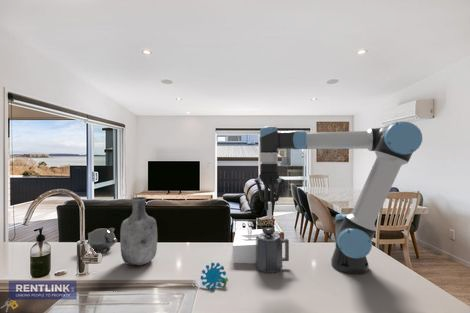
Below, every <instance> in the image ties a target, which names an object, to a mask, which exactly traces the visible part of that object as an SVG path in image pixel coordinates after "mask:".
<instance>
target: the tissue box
mask: <svg viewBox="0 0 470 313" xmlns="http://www.w3.org/2000/svg"><path fill="white" fill-rule="evenodd" d="M234 233H235V234H234V239H233V243H232V252H233V253H232V254H233V255H232V256H233V263H234V264H256V237H257V235H258V234H260V233H264V230H263V228H262V229H261V228H259V229H258V228H257V229H253V228H252V227H251V226H249V227H247V229H240V230H239V229H238V230H235V232H234Z"/></svg>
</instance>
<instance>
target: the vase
mask: <svg viewBox="0 0 470 313" xmlns="http://www.w3.org/2000/svg"><path fill="white" fill-rule="evenodd" d="M146 201H147V197H145V196H137V197H135V196H134V197H131V199H130V202H131V204H132V212H131V214H130V215H129V217H127V218H126V219H124V220H123V221H122V223H121V225H120V233H119V234H120V235H119V237H120V239H119V243H120V253H121V254H120V256H121V258H122V261H123V262H124V263H125V264H127V265H131V266H142V265H145V264H148V263H149V262H151V261H152V260H154V258H155V256H156V255H157V250H158V225H157V220H156V218H154V217H153V216H150V215H148V213H147V212H146Z"/></svg>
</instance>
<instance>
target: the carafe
mask: <svg viewBox="0 0 470 313" xmlns="http://www.w3.org/2000/svg"><path fill="white" fill-rule="evenodd" d="M289 242H290V241H289V238H284V239H283V238H282V237H281V236H280V234H279V233H276V232H274V234H271V235H270V237H268V235H266V234H264V232H263V233H260V234H258V235H257V237H256V263H255V266H256V270H257V271H258V272H260V273H263V274H268V275H269V274H277V273H279V272H281V271H282V270H283V269H282V268H283V262H289V261H290V260H289V259H290V249H289V248H290V243H289ZM283 244H284V256H283Z"/></svg>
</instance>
